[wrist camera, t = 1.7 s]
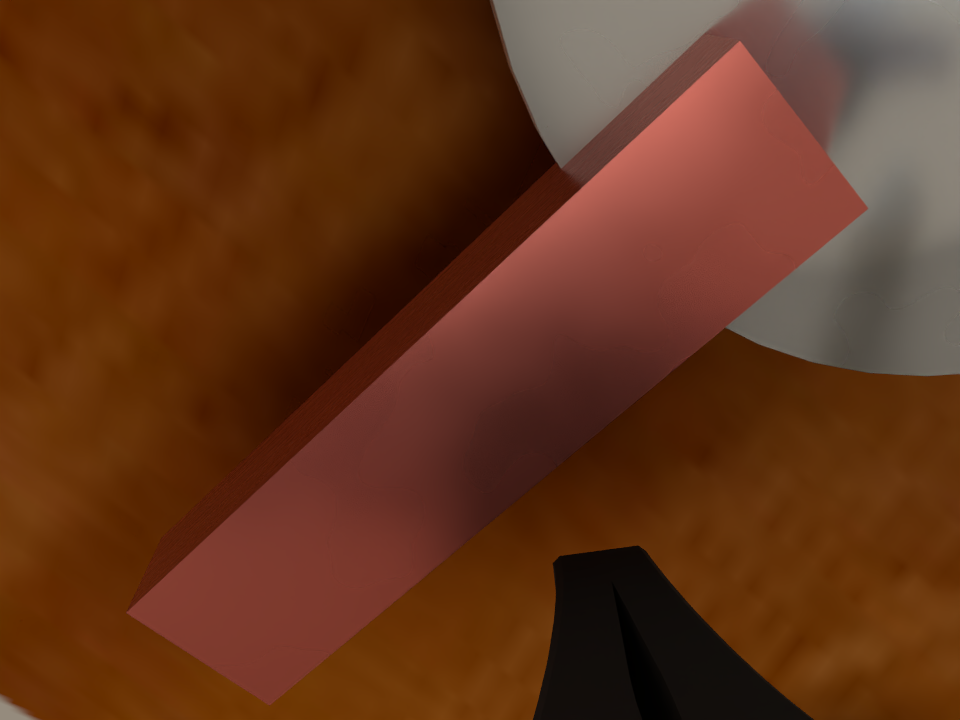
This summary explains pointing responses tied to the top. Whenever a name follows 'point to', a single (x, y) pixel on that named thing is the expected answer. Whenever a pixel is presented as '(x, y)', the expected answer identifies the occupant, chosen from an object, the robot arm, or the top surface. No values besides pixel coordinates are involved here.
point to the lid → (597, 297)
